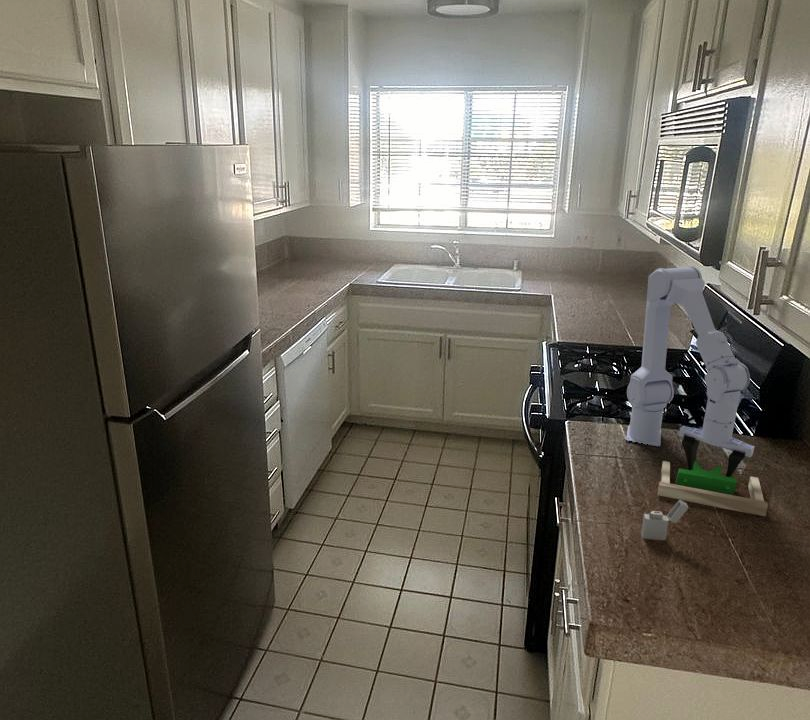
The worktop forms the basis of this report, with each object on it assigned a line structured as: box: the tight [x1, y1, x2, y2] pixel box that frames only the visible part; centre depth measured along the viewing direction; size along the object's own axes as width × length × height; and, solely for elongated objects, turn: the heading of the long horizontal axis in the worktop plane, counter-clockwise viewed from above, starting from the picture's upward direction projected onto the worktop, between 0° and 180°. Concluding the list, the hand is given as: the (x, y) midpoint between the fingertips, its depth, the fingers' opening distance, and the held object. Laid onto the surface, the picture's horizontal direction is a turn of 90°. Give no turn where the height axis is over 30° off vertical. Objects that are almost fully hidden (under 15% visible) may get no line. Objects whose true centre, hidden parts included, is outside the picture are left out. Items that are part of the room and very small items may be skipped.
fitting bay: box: [657, 460, 769, 517], centre depth 129 cm, size 12×20×2 cm, turn 67°
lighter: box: [640, 499, 689, 541], centre depth 113 cm, size 7×2×8 cm, turn 81°
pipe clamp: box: [675, 461, 738, 496], centre depth 130 cm, size 11×4×5 cm, turn 68°
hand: (709, 474), depth 133 cm, fingers open, 7 cm apart
